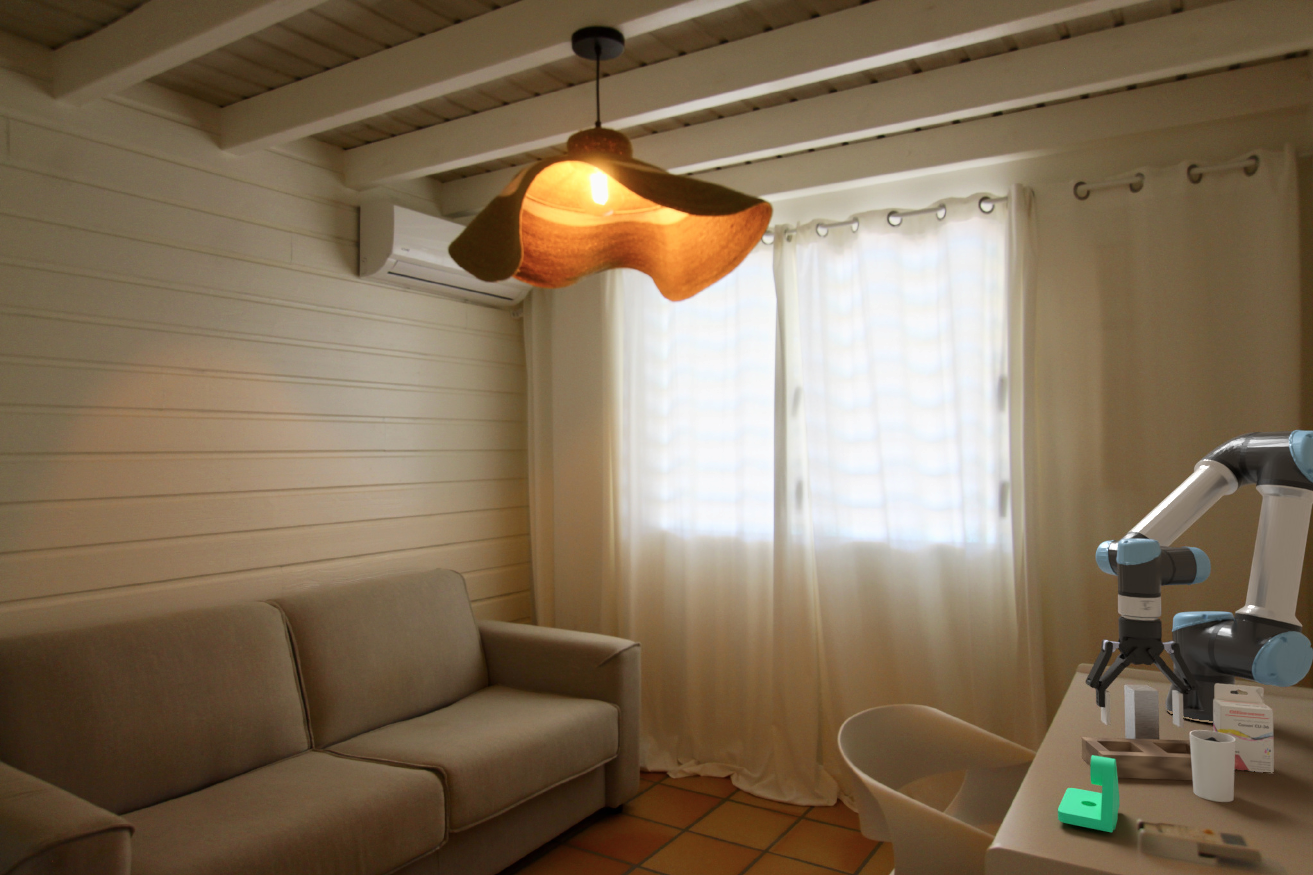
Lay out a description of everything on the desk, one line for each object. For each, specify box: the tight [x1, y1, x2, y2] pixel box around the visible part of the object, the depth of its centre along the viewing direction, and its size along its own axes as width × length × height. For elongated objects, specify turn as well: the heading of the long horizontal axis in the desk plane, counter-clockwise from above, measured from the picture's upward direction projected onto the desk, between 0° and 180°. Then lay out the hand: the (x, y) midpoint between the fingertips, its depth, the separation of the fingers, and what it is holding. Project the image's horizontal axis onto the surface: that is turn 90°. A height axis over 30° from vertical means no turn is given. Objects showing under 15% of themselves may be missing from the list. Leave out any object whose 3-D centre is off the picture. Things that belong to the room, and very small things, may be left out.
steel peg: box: [1123, 684, 1160, 739], centre depth 170 cm, size 4×4×12 cm
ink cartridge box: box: [1212, 683, 1275, 774], centre depth 160 cm, size 9×5×15 cm, turn 71°
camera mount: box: [1057, 755, 1121, 833], centre depth 137 cm, size 12×8×10 cm, turn 147°
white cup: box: [1189, 729, 1235, 803], centre depth 146 cm, size 7×7×10 cm
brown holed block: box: [1081, 736, 1193, 781], centre depth 159 cm, size 20×10×4 cm, turn 84°
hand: (1141, 724), depth 170 cm, fingers open, 13 cm apart
